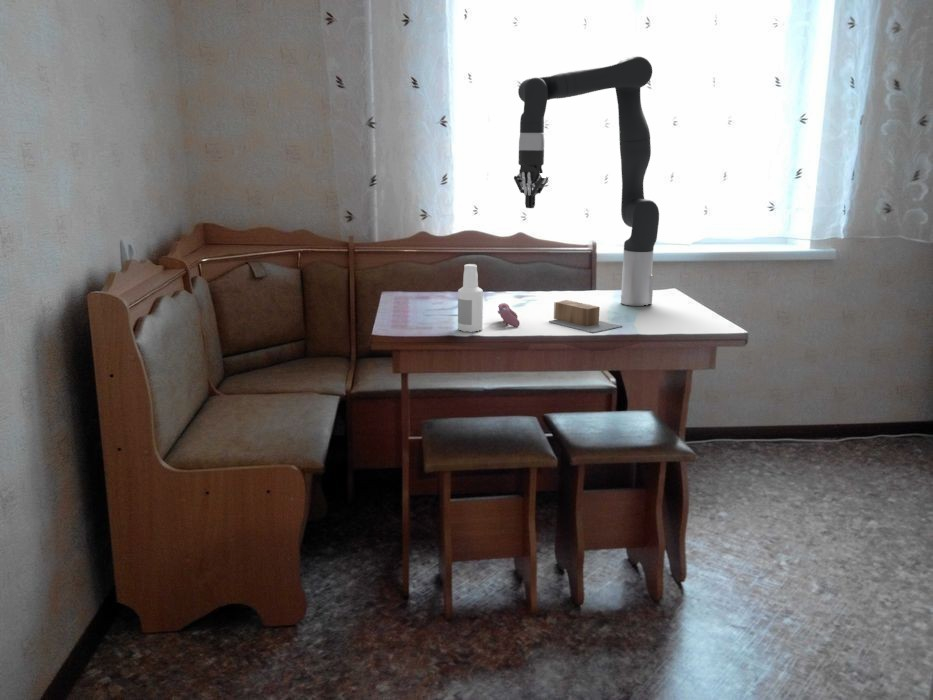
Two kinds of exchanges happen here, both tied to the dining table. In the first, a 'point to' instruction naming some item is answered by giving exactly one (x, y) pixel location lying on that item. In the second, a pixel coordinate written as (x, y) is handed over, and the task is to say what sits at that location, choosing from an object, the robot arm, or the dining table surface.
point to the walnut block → (576, 313)
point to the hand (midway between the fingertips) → (529, 208)
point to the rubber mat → (593, 328)
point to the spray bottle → (470, 301)
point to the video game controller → (508, 315)
